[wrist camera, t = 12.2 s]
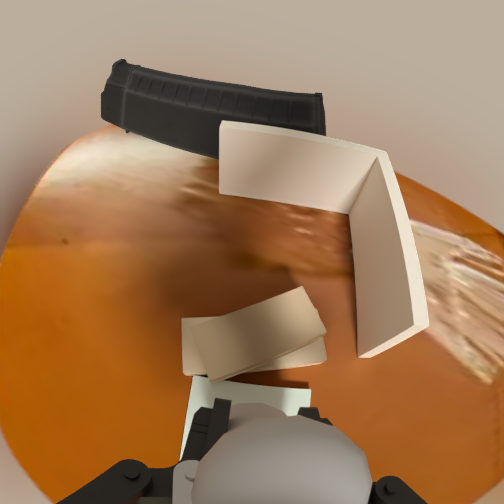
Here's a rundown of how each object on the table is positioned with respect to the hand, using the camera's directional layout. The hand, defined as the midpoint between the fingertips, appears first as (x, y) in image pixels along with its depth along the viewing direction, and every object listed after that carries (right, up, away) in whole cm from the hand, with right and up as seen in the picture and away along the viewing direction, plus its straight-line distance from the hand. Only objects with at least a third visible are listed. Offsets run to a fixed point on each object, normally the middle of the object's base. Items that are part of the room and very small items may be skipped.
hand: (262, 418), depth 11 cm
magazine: (-7, +20, +22) cm, 30 cm away
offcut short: (0, +1, +8) cm, 8 cm away
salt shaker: (-1, -5, +4) cm, 6 cm away
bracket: (+3, +6, +14) cm, 15 cm away
